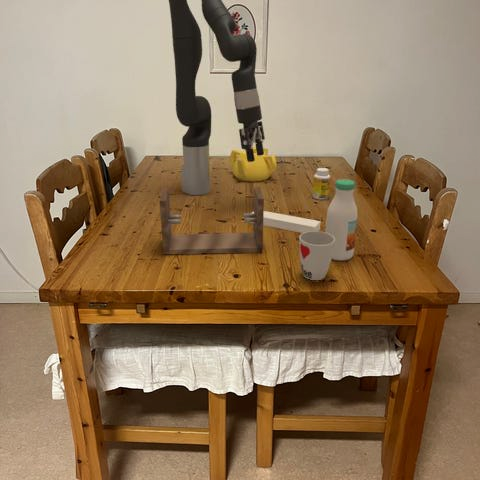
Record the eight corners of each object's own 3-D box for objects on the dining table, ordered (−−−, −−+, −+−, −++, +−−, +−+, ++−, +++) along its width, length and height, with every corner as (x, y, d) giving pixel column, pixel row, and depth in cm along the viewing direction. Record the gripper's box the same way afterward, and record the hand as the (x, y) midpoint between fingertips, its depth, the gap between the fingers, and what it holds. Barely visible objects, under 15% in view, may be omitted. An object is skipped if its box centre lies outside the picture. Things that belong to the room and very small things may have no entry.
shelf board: (248, 223, 142) (249, 214, 141) (256, 218, 146) (256, 209, 145) (314, 236, 133) (314, 227, 132) (319, 230, 137) (320, 221, 136)
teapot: (278, 181, 180) (279, 151, 175) (236, 184, 177) (236, 153, 172) (266, 170, 195) (267, 141, 190) (227, 172, 192) (227, 143, 187)
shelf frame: (163, 255, 121) (159, 200, 115) (166, 239, 130) (163, 188, 124) (262, 252, 123) (263, 198, 116) (258, 237, 132) (259, 186, 126)
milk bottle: (335, 263, 117) (343, 187, 109) (317, 251, 123) (323, 179, 115) (359, 257, 120) (368, 183, 112) (340, 246, 126) (347, 175, 118)
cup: (294, 268, 114) (296, 231, 110) (326, 267, 115) (329, 230, 111) (300, 285, 107) (303, 246, 103) (335, 283, 108) (339, 244, 104)
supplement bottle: (319, 201, 160) (322, 172, 156) (309, 196, 164) (311, 168, 160) (331, 198, 163) (334, 169, 158) (321, 194, 167) (323, 166, 163)
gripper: (245, 104, 148) (253, 154, 154) (227, 110, 136) (236, 164, 142) (266, 101, 145) (274, 152, 151) (250, 107, 133) (259, 162, 139)
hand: (256, 158), depth 146 cm, fingers open, 8 cm apart
